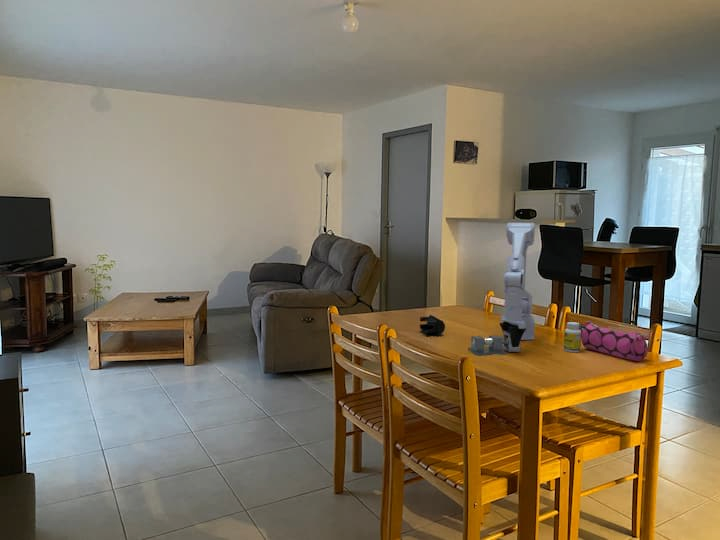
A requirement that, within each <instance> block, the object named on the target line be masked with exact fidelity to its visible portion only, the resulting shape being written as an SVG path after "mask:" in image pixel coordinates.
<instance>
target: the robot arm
mask: <svg viewBox="0 0 720 540" xmlns="http://www.w3.org/2000/svg"><path fill="white" fill-rule="evenodd" d="M535 234H536V225H535V223H534V222H510V221H509V222H508V223H506V238H507V242H508V245H510V246H511V247H512V250H511V251H512V252H511V253H512V254H510V255H509V256H508V257H507V266H506V272H505V273H504V274H503V275H504V276H503V285H504V288H503V289H504V310H503V311H504V312H503V314H501V315H500V321H501V322H500V323H499V326H500V328H501V332H503V330H510V334H511V342H512V347H519V344H520V345H521V341H523V340H525V341H526V340H527V341H529V340H531V341H532V340H536V338H535V328H536V327H535V323H536V321H535V319H534V316H533V315H532V310H533V295H532V294H531V292H529V291H528V290H526V273H527V270H526V269H527V268H526V267H527V254H528V253H527V251H528V249H529V246H530V247H531V246H533V245H534V243H535Z"/></svg>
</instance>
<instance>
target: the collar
mask: <svg viewBox="0 0 720 540" xmlns="http://www.w3.org/2000/svg"><path fill="white" fill-rule="evenodd" d="M506 336H508V344H502V350H504V351H506V352H509V353H512V352H513V353H515V352H517V353H519V352H521V343H520V344H519V347H512V342H511V334H510V330H503V331H502V338H504V337H506Z"/></svg>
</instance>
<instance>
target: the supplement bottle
mask: <svg viewBox="0 0 720 540" xmlns="http://www.w3.org/2000/svg"><path fill="white" fill-rule="evenodd" d="M566 327H567V328H565V329H564V335H563V337H564V340H563V341H564V342H563V350H564V351H565V352H569V353H580V352H581V349H582V348H581V347H582V346H581V345H582V340H581V332H582V330H581V329H580V323H579V322H576V321H575V322H574V321H569V322H566Z"/></svg>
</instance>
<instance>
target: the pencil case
mask: <svg viewBox="0 0 720 540" xmlns="http://www.w3.org/2000/svg"><path fill="white" fill-rule="evenodd" d="M585 325H586V326H584V328H583V329H582V330H581V345H583V347H584V348H585V349H588V350H590V351H595V352H597V353H598V352H599V353H603V354H608V355H611V356H614V357H618V358H621V359H625V360H629V361H636V362H642V361H643V360H644V359H645V358H646V357H647V356H648V344H647V341H646V338H645V337H644V335H642V334H641V333H637V332H624V331H619V330H615V329H612V328H607V327H600V326H598V325H597V324H595V323H594V322H591V320H588V321H586V322H585ZM641 360H642V361H641Z"/></svg>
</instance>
